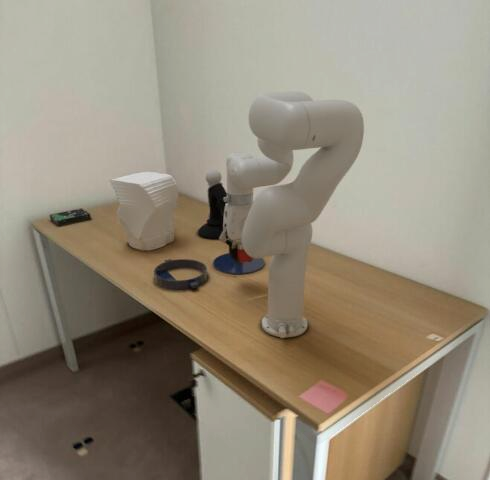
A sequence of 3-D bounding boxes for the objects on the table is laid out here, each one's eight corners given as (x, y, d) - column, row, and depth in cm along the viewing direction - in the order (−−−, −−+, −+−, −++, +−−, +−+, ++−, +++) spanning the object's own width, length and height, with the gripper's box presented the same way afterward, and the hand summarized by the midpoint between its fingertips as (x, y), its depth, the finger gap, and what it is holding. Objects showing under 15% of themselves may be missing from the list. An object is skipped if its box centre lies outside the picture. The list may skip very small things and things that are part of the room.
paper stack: (113, 245, 180) (102, 177, 166) (167, 227, 197) (161, 164, 183) (146, 260, 168) (137, 188, 154) (201, 239, 185) (197, 173, 171)
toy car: (252, 263, 143) (252, 244, 139) (240, 266, 141) (240, 247, 138) (240, 254, 148) (240, 236, 145) (229, 257, 146) (228, 239, 143)
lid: (228, 280, 153) (228, 263, 150) (204, 261, 166) (203, 245, 163) (274, 268, 161) (274, 252, 157) (248, 251, 174) (247, 235, 171)
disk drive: (82, 214, 214) (50, 220, 206) (81, 208, 212) (48, 214, 204) (91, 219, 207) (58, 226, 199) (90, 213, 205) (57, 220, 197)
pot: (170, 299, 142) (169, 289, 140) (144, 272, 159) (143, 263, 157) (220, 286, 149) (219, 276, 148) (190, 261, 166) (190, 252, 164)
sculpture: (222, 224, 200) (220, 164, 187) (254, 240, 184) (254, 175, 170) (191, 231, 193) (187, 169, 180) (221, 249, 176) (219, 182, 163)
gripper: (220, 206, 128) (222, 267, 138) (271, 197, 135) (270, 255, 145) (208, 199, 133) (211, 258, 143) (258, 191, 140) (257, 247, 150)
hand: (240, 256), depth 144 cm, fingers closed on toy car, 4 cm apart
